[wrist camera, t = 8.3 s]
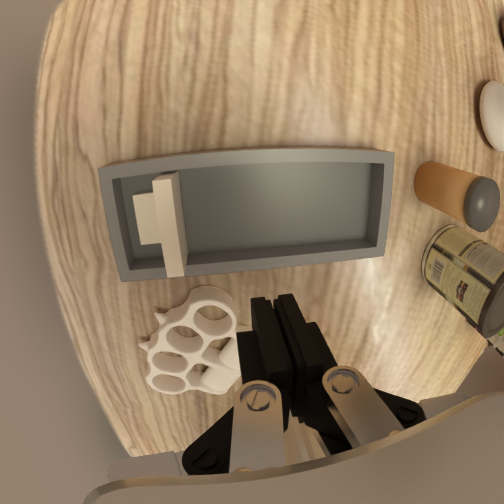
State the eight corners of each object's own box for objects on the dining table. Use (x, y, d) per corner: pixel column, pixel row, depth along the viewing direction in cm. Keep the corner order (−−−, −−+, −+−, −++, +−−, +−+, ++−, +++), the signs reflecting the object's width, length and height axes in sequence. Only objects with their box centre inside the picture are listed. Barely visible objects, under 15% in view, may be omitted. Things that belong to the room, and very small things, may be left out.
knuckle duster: (214, 393, 41) (126, 361, 36) (281, 315, 36) (176, 265, 31) (215, 410, 38) (122, 377, 33) (288, 331, 33) (173, 280, 28)
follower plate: (188, 252, 29) (184, 276, 24) (146, 256, 28) (135, 280, 24) (178, 169, 25) (170, 178, 21) (132, 175, 25) (116, 186, 20)
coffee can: (467, 263, 37) (523, 306, 24) (425, 296, 38) (479, 352, 25) (462, 211, 33) (532, 250, 20) (415, 246, 34) (485, 300, 21)
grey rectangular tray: (368, 243, 33) (383, 256, 29) (129, 265, 30) (121, 281, 26) (375, 148, 28) (394, 152, 24) (111, 163, 25) (97, 168, 22)
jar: (441, 204, 32) (494, 231, 23) (411, 204, 31) (466, 233, 22) (445, 162, 29) (502, 180, 20) (415, 158, 29) (475, 176, 20)
